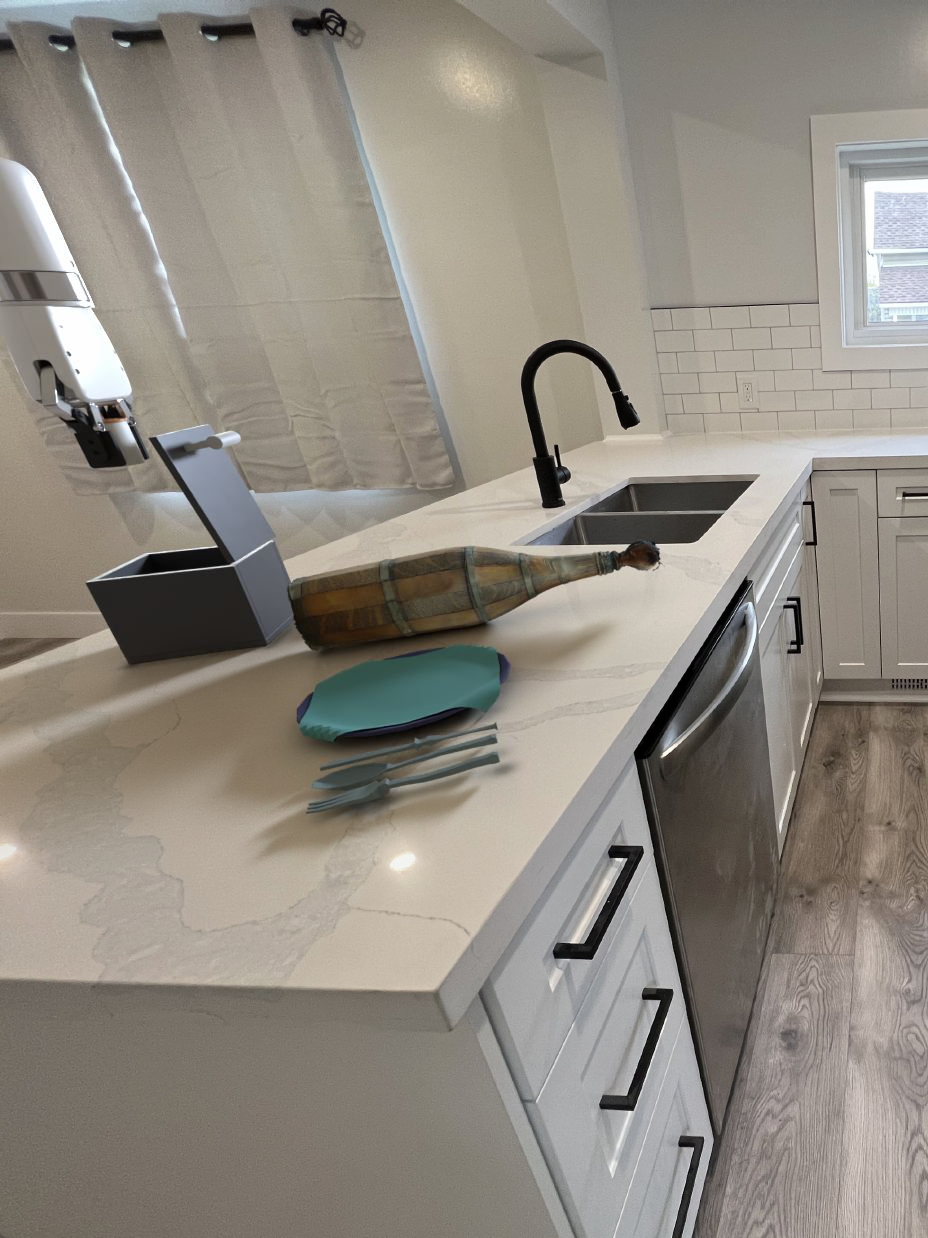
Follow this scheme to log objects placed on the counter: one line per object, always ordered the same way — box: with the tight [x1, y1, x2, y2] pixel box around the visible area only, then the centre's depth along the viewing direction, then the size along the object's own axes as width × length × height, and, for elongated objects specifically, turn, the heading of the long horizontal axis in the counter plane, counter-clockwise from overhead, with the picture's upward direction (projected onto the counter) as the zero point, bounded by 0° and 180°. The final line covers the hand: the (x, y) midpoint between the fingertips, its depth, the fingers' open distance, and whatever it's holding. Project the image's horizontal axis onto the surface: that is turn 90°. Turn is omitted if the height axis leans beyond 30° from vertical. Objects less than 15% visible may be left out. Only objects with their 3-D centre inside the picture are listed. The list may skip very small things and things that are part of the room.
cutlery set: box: [295, 643, 512, 815], centre depth 71 cm, size 20×30×2 cm, turn 27°
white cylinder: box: [102, 418, 146, 469], centre depth 82 cm, size 4×4×5 cm
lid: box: [148, 423, 277, 563], centre depth 88 cm, size 15×13×5 cm
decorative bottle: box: [287, 539, 665, 652], centre depth 94 cm, size 11×11×45 cm
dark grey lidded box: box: [84, 539, 295, 665], centre depth 91 cm, size 15×13×11 cm
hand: (121, 462), depth 83 cm, fingers closed on white cylinder, 4 cm apart
